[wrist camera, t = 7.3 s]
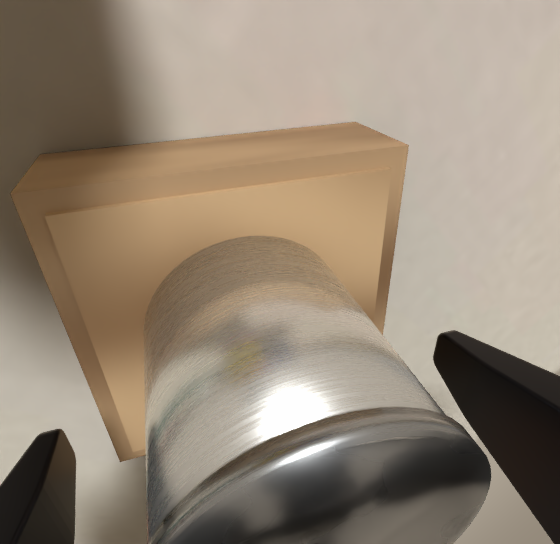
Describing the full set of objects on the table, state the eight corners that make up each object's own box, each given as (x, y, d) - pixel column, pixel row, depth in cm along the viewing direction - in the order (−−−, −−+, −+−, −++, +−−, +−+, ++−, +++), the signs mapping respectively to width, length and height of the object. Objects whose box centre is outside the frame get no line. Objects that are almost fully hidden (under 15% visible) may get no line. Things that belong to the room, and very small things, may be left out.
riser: (341, 339, 17) (376, 394, 15) (122, 392, 15) (120, 466, 13) (355, 121, 12) (412, 146, 10) (39, 154, 10) (7, 196, 8)
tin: (338, 374, 13) (452, 572, 9) (162, 419, 12) (178, 685, 7) (348, 215, 10) (536, 385, 6) (114, 253, 9) (85, 521, 4)
